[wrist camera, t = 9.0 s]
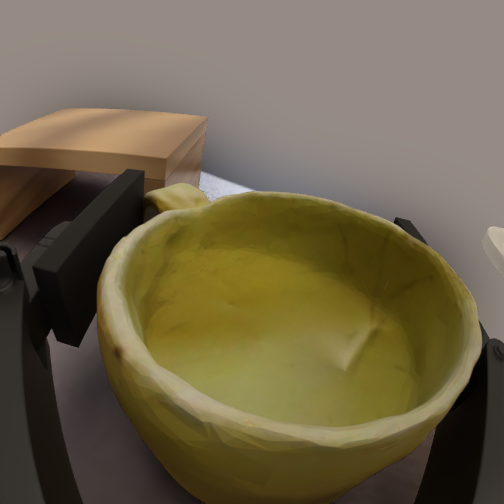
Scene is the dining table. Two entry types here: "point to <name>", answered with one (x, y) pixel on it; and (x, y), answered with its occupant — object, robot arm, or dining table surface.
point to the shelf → (95, 154)
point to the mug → (280, 342)
